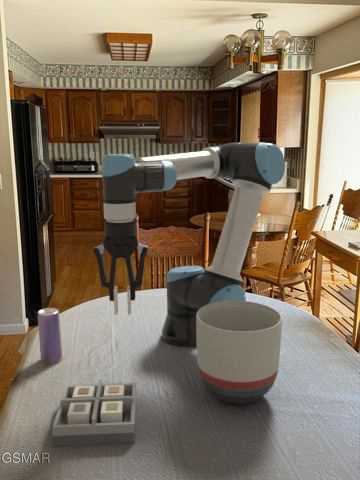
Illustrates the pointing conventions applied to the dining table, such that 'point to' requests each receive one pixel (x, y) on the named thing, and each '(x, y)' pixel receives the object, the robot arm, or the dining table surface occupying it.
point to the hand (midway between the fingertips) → (122, 312)
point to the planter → (238, 349)
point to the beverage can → (49, 335)
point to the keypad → (95, 418)
